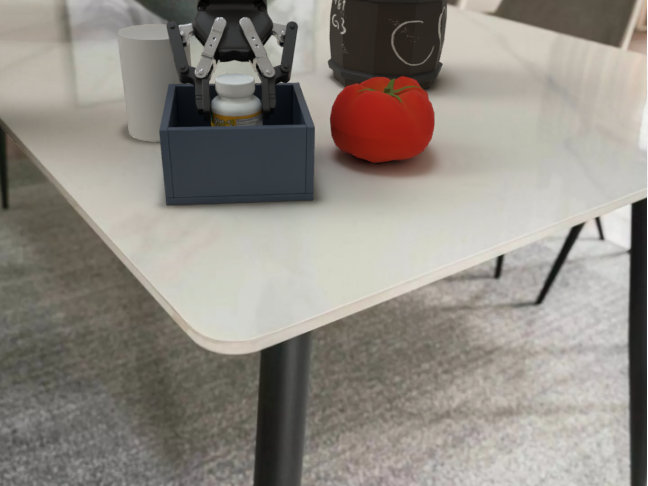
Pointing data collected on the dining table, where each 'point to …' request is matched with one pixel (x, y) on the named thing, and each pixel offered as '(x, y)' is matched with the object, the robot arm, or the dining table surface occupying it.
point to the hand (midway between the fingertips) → (237, 116)
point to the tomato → (382, 119)
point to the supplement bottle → (235, 101)
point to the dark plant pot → (387, 39)
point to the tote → (237, 151)
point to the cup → (146, 76)
